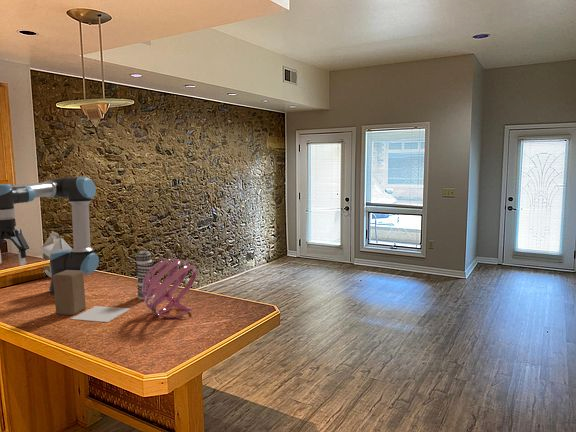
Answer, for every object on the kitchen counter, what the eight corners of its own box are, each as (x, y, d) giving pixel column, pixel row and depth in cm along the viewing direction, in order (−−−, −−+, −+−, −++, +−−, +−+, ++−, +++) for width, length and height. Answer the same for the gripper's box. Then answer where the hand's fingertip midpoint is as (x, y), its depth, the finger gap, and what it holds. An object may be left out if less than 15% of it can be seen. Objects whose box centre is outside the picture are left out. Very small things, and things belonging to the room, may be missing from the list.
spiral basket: (221, 272, 209) (179, 238, 215) (181, 302, 186) (135, 264, 193) (205, 308, 225) (166, 276, 231) (166, 340, 202) (124, 303, 208)
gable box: (43, 272, 293) (39, 231, 289) (64, 269, 302) (61, 229, 298) (52, 279, 277) (48, 235, 273) (75, 275, 285) (71, 232, 282)
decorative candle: (148, 300, 231) (145, 253, 228) (133, 298, 234) (130, 253, 231) (158, 295, 240) (156, 250, 236) (144, 293, 243) (141, 249, 239)
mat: (95, 306, 223) (95, 306, 223) (130, 309, 218) (130, 308, 218) (70, 319, 205) (70, 318, 205) (107, 322, 200) (107, 321, 200)
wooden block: (73, 316, 210) (70, 275, 207) (55, 314, 212) (51, 274, 209) (87, 308, 220) (83, 270, 217) (69, 307, 222) (66, 269, 219)
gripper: (-25, 219, 197) (-19, 265, 200) (21, 220, 190) (26, 267, 193) (-10, 216, 204) (-4, 261, 207) (34, 217, 198) (39, 263, 201)
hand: (10, 264), depth 200 cm, fingers open, 13 cm apart
